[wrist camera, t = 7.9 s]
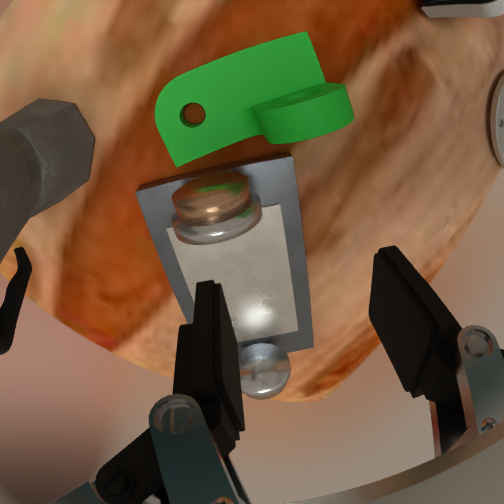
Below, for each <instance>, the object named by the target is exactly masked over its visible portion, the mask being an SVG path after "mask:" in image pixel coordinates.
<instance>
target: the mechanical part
mask: <svg viewBox="0 0 504 504" xmlns="http://www.w3.org/2000/svg"><path fill="white" fill-rule="evenodd" d="M188 103H198V104H200V105H201V106H202V107H203V108H204V110H205V113H206V117H205V120H204V121H202V122H201V123H199V124H191V123H189V122H187V121H186V120H185V119H184V116H183V109H184V107H185V106H186V104H188ZM354 118H355V117H354V113H353V110H352V106H351V103H350V100H349V96H348V93H347V90H346V87H345V85H344V84H339V83H327V82H326V81H325V78H324V76H323V73H322V70H321V67H320V64H319V62H318V59H317V56H316V54H315V51H314V48H313V46H312V43H311V41H310V38H309V36H308V33H307V31H305V32H301V33H297V34H293V35H290V36H286V37H282V38H279V39H276V40H272V41H269V42H266V43H262V44H259V45H256V46H253V47H250V48H247V49H244V50H241V51H239V52H236V53H233V54H230V55H228V56H225V57H222V58H220V59H217V60H215V61H212V62H210V63H207V64H205V65H202V66H200V67H198V68H195V69H193V70H191V71H188V72H186V73H184V74H182V75H180V76H178V77H176V78H174V79H173V80H172V81H170V82H169V83H168V84H167V85H166V86H165V87H164V89H163V90H162V91H161V93H160V95H159V97H158V99H157V102H156V106H155V121H156V125H157V128H158V131H159V133H160V135H161V137H162V139H163V141H164V143H165V145H166V147H167V149H168V151H169V153H170V155H171V157H172V159H173V161H174V163H175V165H176V167H179V166H181V165H183V164H186V163H188V162H190V161H192V160H195V159H197V158H199V157H202V156H204V155H206V154H209V153H211V152H213V151H216V150H218V149H221V148H223V147H225V146H228V145H230V144H233V143H235V142H238V141H241V140H243V139H246V138H248V137H252V136H255V135H264V136H265V138H266V139H267V141H268V142H269V143H273V144H285V143H293V142H298V141H303V140H308V139H311V138H315V137H319V136H322V135H325V134H328V133H331V132H333V131H336V130H338V129H340V128H343V127H345V126H346V125H348V124H349V123H351V122H352V121H353V120H354Z"/></svg>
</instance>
